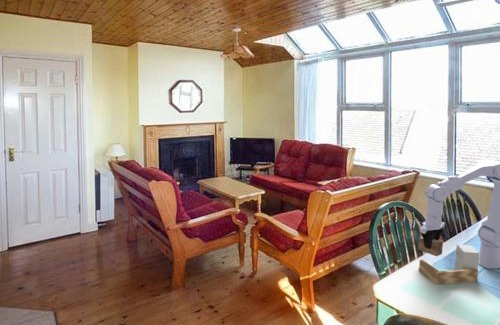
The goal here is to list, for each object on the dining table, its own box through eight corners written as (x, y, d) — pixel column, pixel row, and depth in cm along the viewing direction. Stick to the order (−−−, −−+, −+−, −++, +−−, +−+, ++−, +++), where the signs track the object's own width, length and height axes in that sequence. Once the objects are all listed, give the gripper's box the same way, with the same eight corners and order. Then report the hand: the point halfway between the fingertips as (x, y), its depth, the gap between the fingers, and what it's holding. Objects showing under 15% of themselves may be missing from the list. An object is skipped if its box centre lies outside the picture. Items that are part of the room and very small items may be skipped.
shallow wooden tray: (456, 267, 151) (457, 257, 151) (476, 281, 140) (478, 270, 140) (418, 270, 148) (419, 259, 148) (436, 284, 138) (437, 272, 137)
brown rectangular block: (422, 247, 156) (424, 235, 155) (441, 254, 149) (443, 241, 148) (417, 249, 154) (419, 237, 153) (436, 256, 147) (437, 243, 146)
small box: (476, 279, 142) (480, 253, 140) (460, 277, 143) (463, 251, 141) (468, 269, 150) (472, 245, 148) (453, 268, 151) (456, 243, 149)
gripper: (434, 209, 156) (430, 240, 158) (414, 214, 148) (411, 247, 150) (451, 213, 150) (447, 245, 152) (431, 219, 142) (427, 253, 144)
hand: (430, 246), depth 151 cm, fingers closed on brown rectangular block, 4 cm apart
